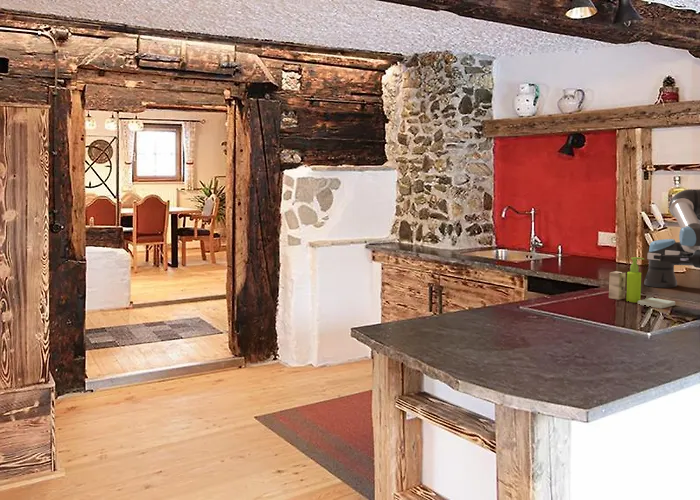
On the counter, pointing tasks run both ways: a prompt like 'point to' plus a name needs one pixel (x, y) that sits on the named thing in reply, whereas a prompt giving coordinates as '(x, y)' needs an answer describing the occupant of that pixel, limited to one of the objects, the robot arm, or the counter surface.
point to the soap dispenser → (634, 282)
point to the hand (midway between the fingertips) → (656, 254)
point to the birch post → (617, 285)
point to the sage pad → (656, 303)
